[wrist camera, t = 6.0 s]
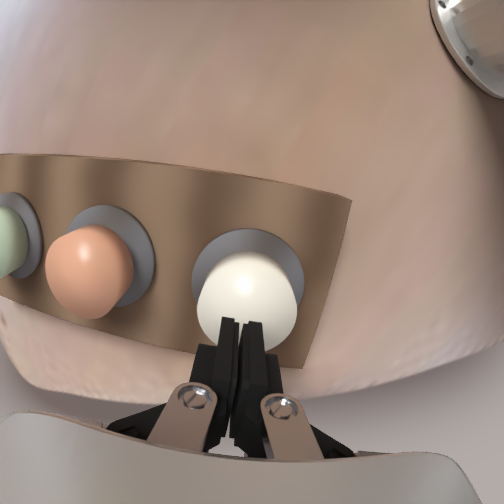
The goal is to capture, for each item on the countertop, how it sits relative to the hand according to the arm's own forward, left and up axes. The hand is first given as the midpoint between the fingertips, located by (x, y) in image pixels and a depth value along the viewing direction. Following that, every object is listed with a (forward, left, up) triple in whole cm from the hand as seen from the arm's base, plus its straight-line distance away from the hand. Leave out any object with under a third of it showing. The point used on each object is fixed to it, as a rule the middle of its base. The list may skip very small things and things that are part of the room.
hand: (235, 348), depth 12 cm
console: (+9, 0, -9) cm, 13 cm away
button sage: (+18, 0, -5) cm, 18 cm away
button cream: (0, 0, -5) cm, 5 cm away
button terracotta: (+9, 0, -5) cm, 10 cm away
